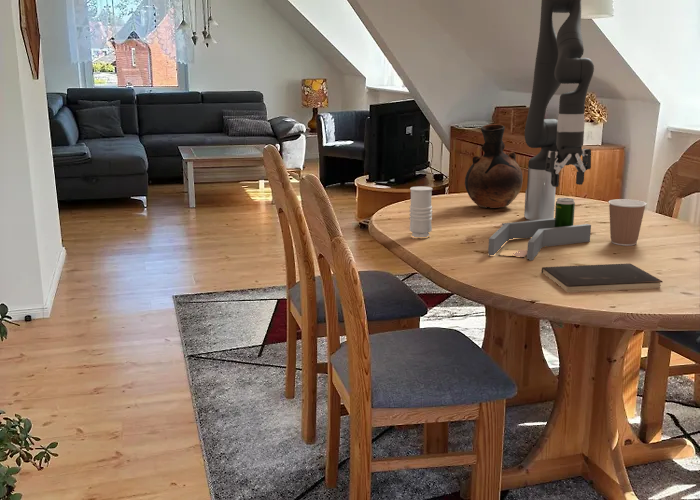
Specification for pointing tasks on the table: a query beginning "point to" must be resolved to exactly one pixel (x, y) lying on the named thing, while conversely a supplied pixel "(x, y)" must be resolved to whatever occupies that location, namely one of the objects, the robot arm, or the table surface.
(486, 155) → the ceramic vessel
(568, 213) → the beer can
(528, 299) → the table surface
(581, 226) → the bent channel
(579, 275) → the hardcover book
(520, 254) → the pad
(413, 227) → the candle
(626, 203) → the coffee cup
